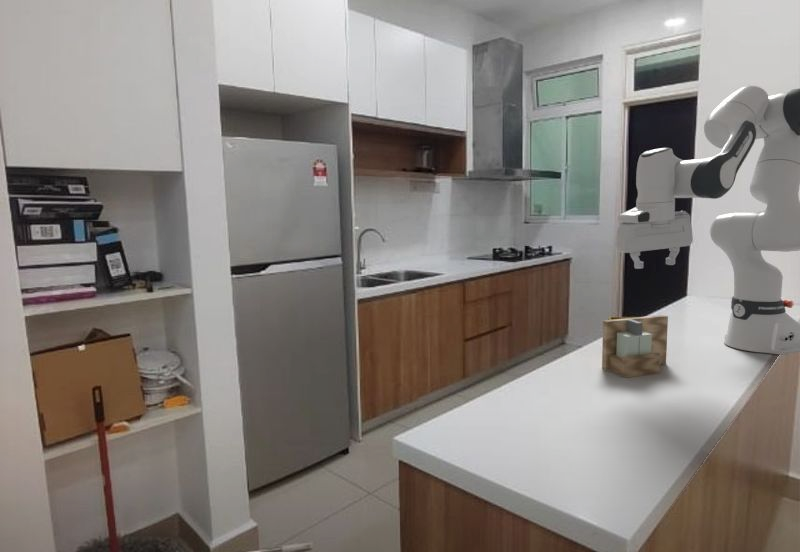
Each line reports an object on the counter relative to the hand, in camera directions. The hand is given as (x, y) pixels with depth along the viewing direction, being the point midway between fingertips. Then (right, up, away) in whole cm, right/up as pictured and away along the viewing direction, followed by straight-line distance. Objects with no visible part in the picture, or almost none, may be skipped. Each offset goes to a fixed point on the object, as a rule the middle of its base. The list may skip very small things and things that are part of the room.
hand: (654, 266), depth 128 cm
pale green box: (-7, -23, -3) cm, 24 cm away
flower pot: (0, -25, +16) cm, 29 cm away
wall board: (-4, -27, -1) cm, 27 cm away
